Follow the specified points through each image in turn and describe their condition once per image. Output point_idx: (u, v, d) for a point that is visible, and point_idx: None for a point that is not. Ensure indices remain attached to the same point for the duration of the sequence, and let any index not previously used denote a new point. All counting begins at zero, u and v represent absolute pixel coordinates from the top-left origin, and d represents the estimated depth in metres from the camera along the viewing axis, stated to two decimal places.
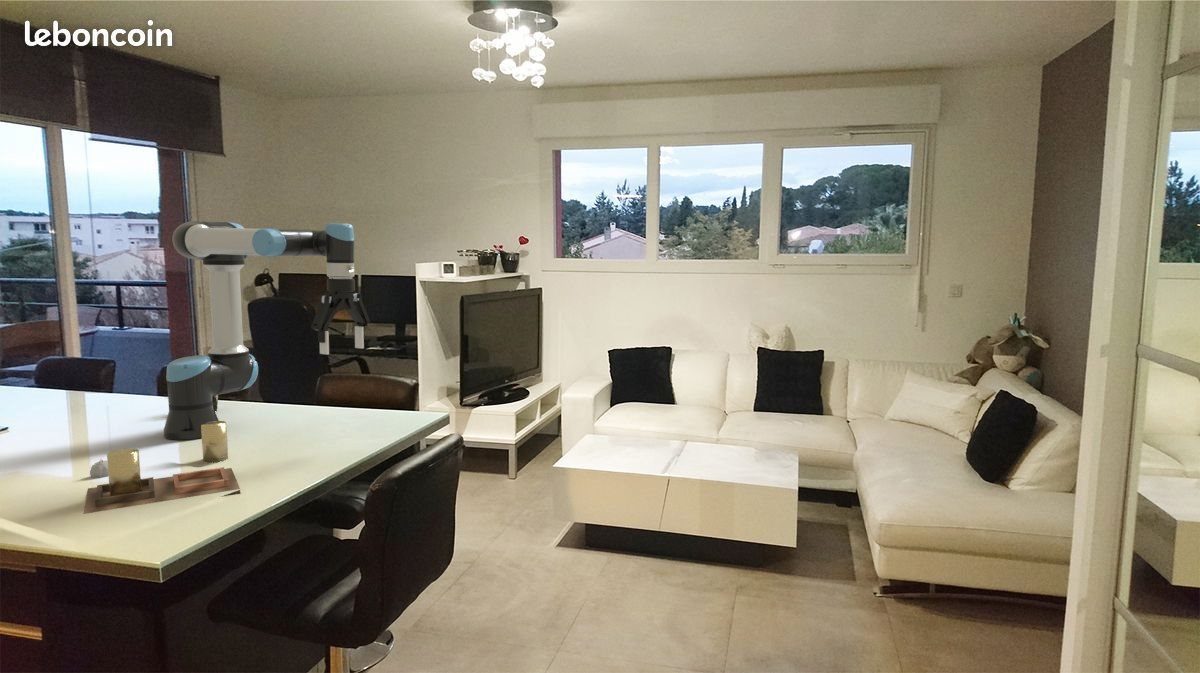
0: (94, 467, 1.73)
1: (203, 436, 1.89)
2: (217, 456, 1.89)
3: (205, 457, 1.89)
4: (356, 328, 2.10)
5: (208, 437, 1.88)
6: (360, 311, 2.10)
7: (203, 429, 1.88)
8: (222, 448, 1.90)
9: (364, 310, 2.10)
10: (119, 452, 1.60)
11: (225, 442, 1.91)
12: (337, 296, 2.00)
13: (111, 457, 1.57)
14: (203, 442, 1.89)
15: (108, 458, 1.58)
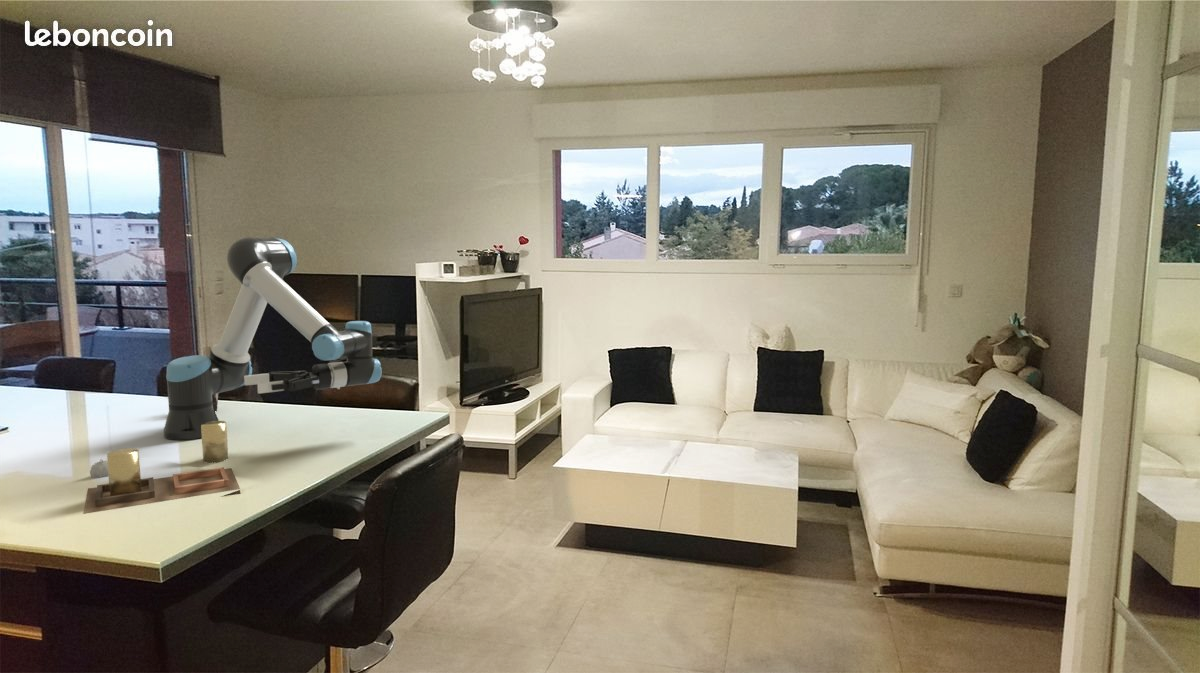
0: (94, 467, 1.73)
1: (203, 436, 1.89)
2: (217, 456, 1.89)
3: (205, 457, 1.89)
4: (266, 376, 2.04)
5: (207, 437, 1.88)
6: None
7: (203, 429, 1.88)
8: (222, 448, 1.90)
9: None
10: (119, 452, 1.60)
11: (225, 442, 1.91)
12: None
13: (111, 457, 1.57)
14: (203, 442, 1.89)
15: (108, 458, 1.58)
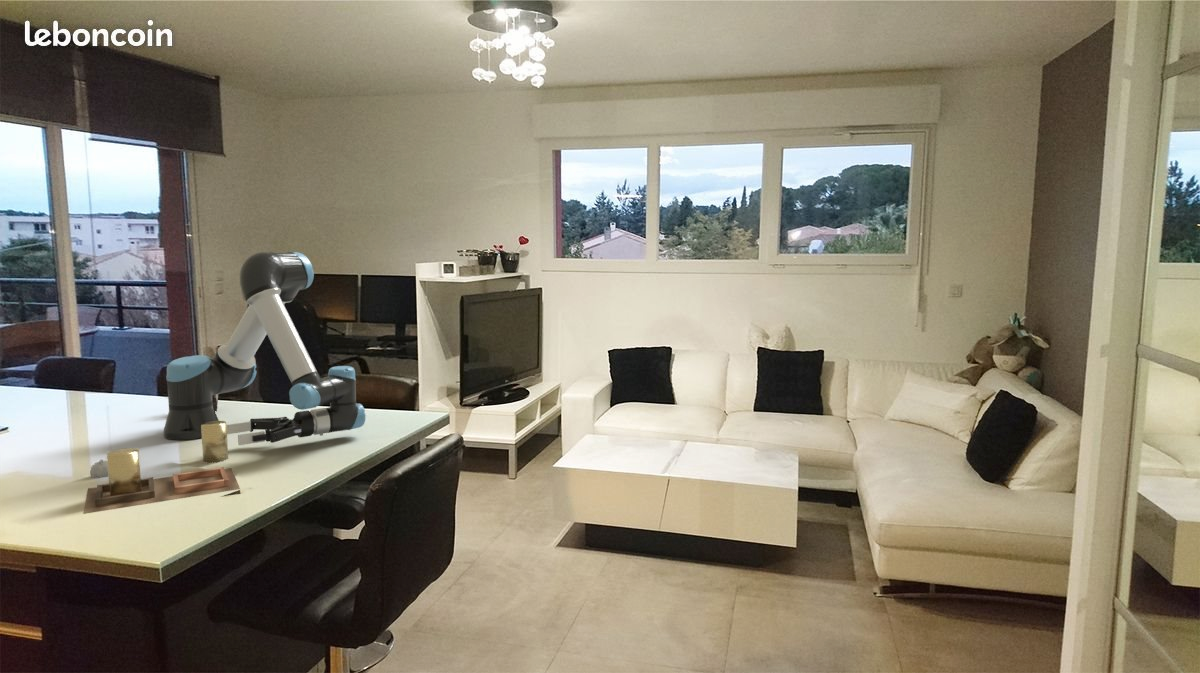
0: (94, 467, 1.73)
1: (203, 436, 1.89)
2: (217, 456, 1.89)
3: (205, 457, 1.89)
4: (248, 424, 2.02)
5: (208, 437, 1.88)
6: None
7: (203, 429, 1.88)
8: (222, 448, 1.90)
9: None
10: (119, 452, 1.60)
11: (225, 442, 1.91)
12: None
13: (111, 457, 1.57)
14: (203, 442, 1.89)
15: (108, 458, 1.58)
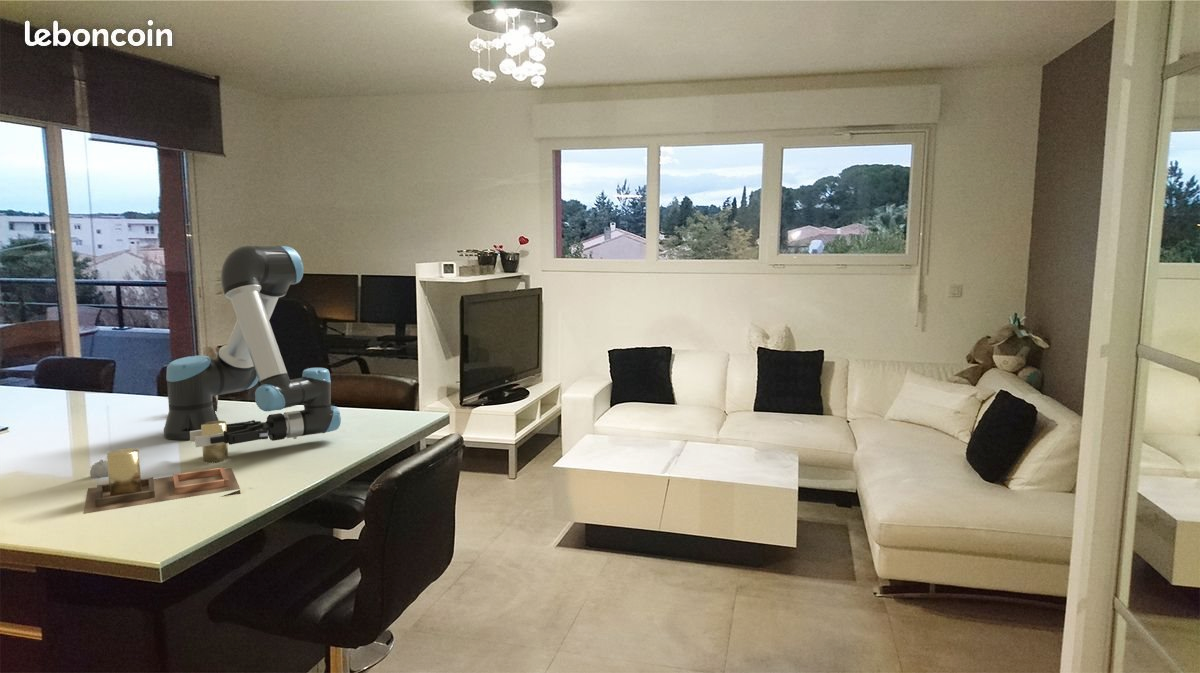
0: (94, 467, 1.73)
1: None
2: (217, 456, 1.89)
3: (205, 457, 1.89)
4: None
5: None
6: None
7: (203, 429, 1.88)
8: (222, 448, 1.90)
9: None
10: (119, 452, 1.60)
11: None
12: None
13: (111, 457, 1.57)
14: None
15: (108, 458, 1.58)
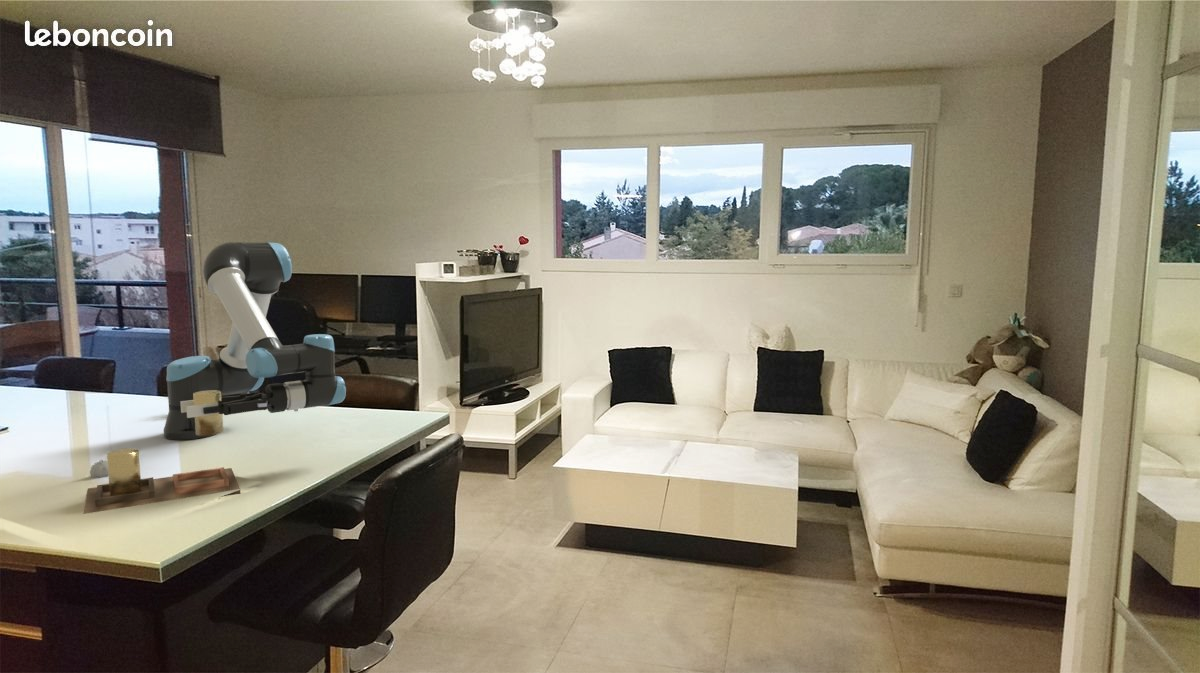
0: (94, 467, 1.73)
1: None
2: (211, 428, 1.72)
3: (198, 430, 1.71)
4: None
5: None
6: None
7: (195, 398, 1.70)
8: (217, 419, 1.73)
9: None
10: (119, 452, 1.60)
11: None
12: None
13: (111, 457, 1.57)
14: None
15: (108, 458, 1.58)
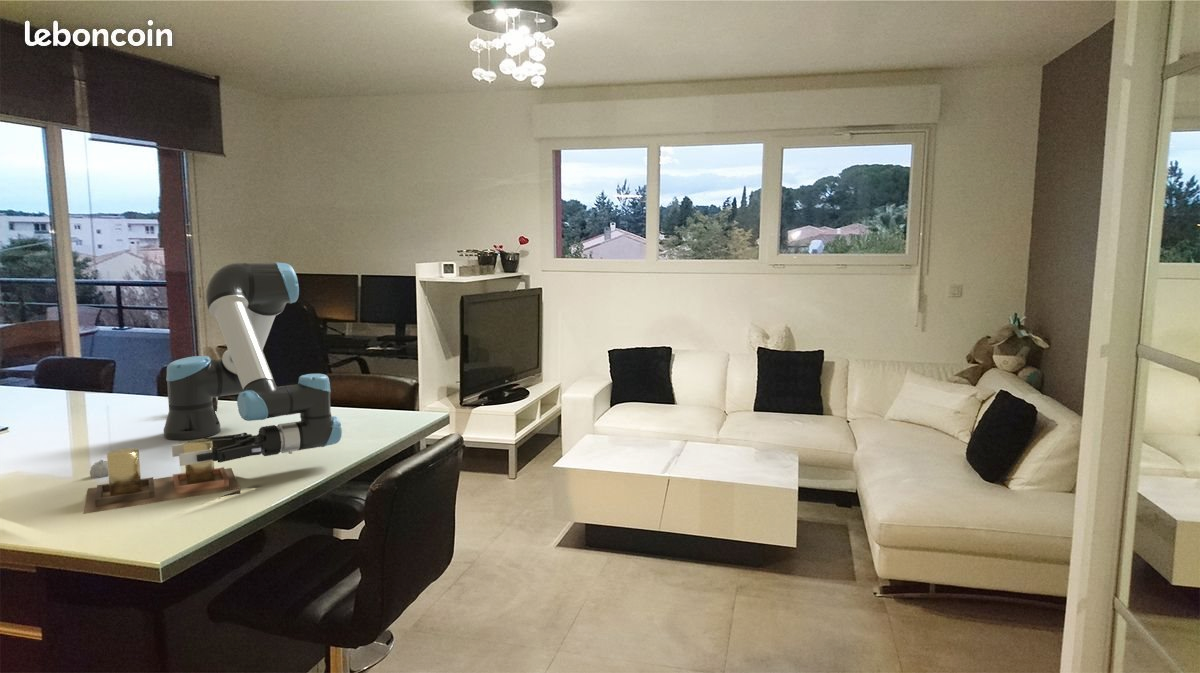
0: (94, 467, 1.73)
1: None
2: (202, 480, 1.67)
3: (189, 481, 1.67)
4: None
5: None
6: None
7: (186, 449, 1.66)
8: (208, 470, 1.68)
9: None
10: (119, 452, 1.60)
11: (211, 463, 1.69)
12: None
13: (111, 457, 1.57)
14: None
15: (108, 458, 1.58)
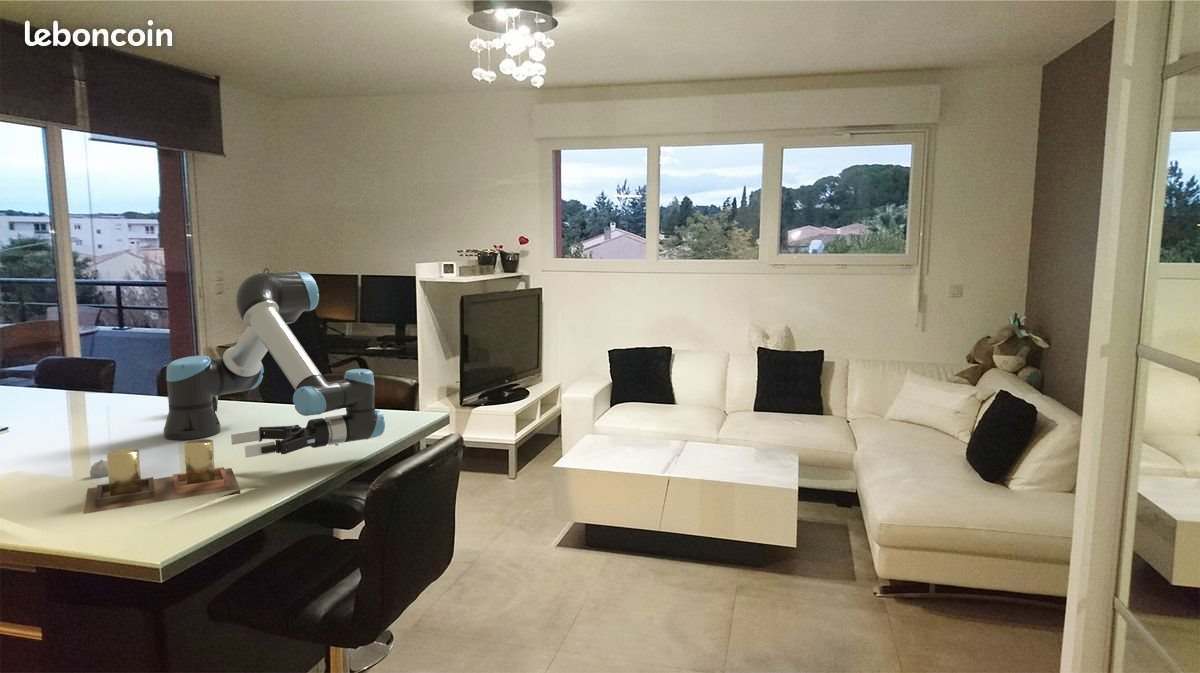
0: (94, 467, 1.73)
1: (186, 457, 1.66)
2: (202, 480, 1.67)
3: (189, 481, 1.67)
4: (256, 433, 1.83)
5: (192, 458, 1.66)
6: None
7: (186, 449, 1.66)
8: (208, 470, 1.68)
9: None
10: (119, 452, 1.60)
11: (212, 463, 1.69)
12: None
13: (111, 457, 1.57)
14: (186, 464, 1.67)
15: (108, 458, 1.58)
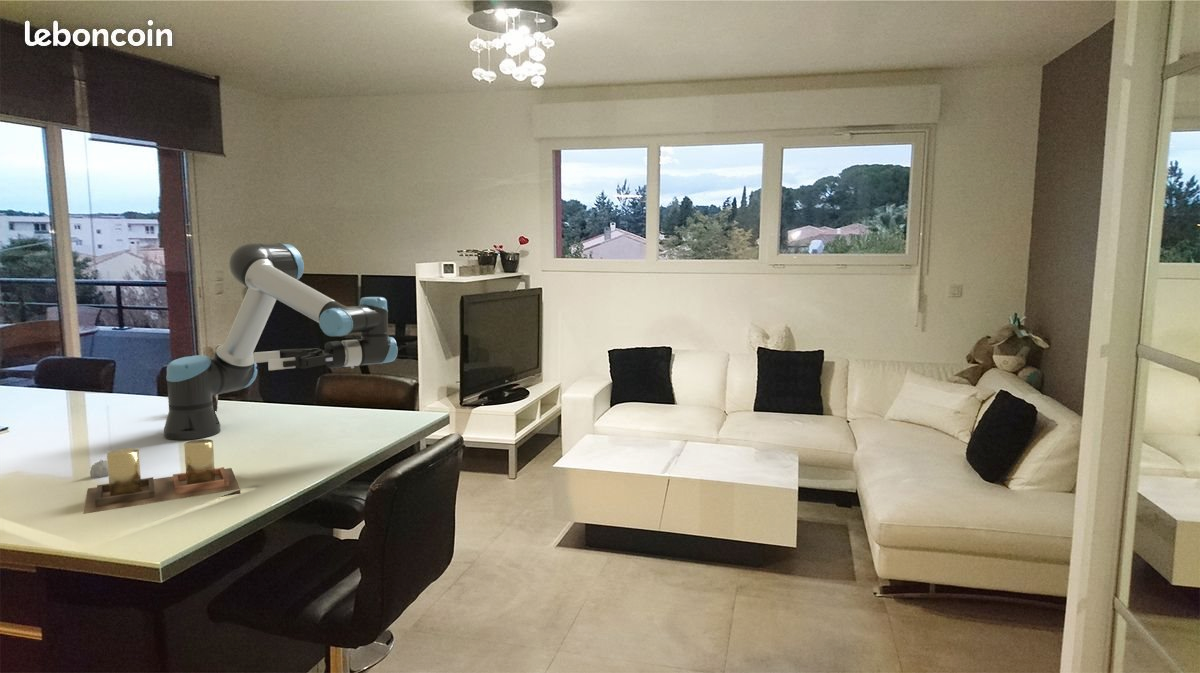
0: (94, 467, 1.73)
1: (186, 457, 1.66)
2: (202, 480, 1.67)
3: (189, 481, 1.67)
4: (277, 353, 1.93)
5: (192, 458, 1.66)
6: None
7: (186, 449, 1.66)
8: (208, 470, 1.68)
9: None
10: (119, 452, 1.60)
11: (212, 463, 1.69)
12: None
13: (111, 457, 1.57)
14: (186, 464, 1.67)
15: (108, 458, 1.58)
